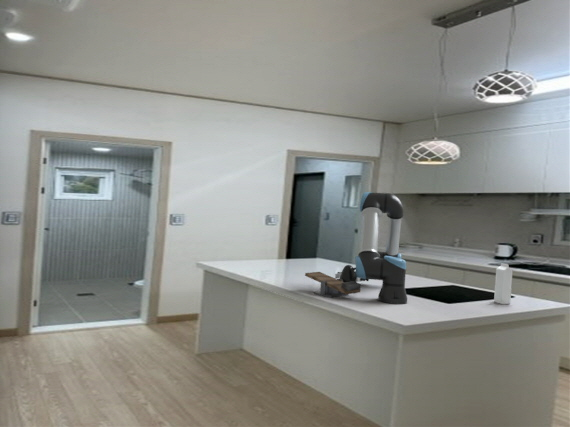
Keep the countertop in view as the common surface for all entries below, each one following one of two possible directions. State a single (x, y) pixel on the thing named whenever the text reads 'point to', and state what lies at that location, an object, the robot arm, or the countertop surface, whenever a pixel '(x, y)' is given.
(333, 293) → the pivot stand
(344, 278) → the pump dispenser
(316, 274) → the balance beam
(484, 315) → the countertop surface
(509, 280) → the milk
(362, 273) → the robot arm
